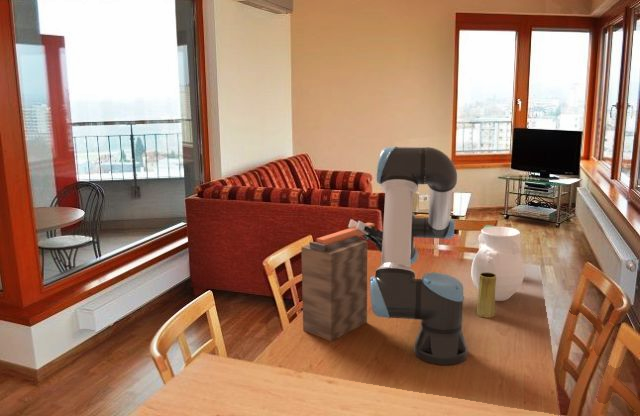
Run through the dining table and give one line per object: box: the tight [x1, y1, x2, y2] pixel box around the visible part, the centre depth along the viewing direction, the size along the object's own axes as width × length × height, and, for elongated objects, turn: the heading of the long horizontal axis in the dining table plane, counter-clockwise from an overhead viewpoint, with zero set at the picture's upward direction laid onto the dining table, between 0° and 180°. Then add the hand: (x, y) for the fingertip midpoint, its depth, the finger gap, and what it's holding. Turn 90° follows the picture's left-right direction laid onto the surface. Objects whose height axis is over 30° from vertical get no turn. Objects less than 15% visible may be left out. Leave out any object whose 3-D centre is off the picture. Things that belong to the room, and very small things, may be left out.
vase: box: [475, 272, 496, 319], centre depth 190 cm, size 6×6×14 cm
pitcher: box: [470, 225, 525, 302], centre depth 205 cm, size 19×18×25 cm
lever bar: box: [316, 222, 375, 246], centre depth 182 cm, size 26×3×3 cm, turn 138°
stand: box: [300, 236, 368, 342], centre depth 181 cm, size 18×12×30 cm, turn 138°
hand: (354, 223), depth 184 cm, fingers closed on lever bar, 3 cm apart
